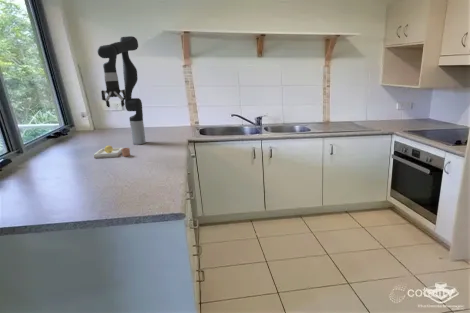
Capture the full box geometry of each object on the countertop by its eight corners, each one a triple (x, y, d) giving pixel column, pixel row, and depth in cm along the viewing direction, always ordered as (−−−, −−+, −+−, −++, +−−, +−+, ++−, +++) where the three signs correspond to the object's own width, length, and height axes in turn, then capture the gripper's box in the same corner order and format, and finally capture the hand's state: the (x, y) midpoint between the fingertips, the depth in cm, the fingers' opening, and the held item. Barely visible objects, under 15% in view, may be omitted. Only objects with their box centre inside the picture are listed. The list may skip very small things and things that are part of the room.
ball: (106, 152, 180) (105, 144, 179) (114, 151, 181) (113, 144, 179) (104, 154, 175) (102, 146, 174) (112, 153, 176) (110, 146, 175)
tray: (101, 152, 184) (101, 148, 184) (123, 151, 186) (123, 147, 185) (94, 158, 171) (93, 154, 170) (117, 156, 173) (117, 152, 172)
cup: (123, 155, 176) (122, 148, 175) (131, 154, 177) (130, 147, 175) (121, 157, 172) (120, 149, 170) (129, 156, 172) (128, 149, 171)
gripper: (125, 79, 175) (128, 105, 180) (101, 80, 174) (106, 106, 178) (122, 80, 168) (125, 106, 173) (97, 80, 167) (102, 108, 171)
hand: (115, 106), depth 176 cm, fingers open, 8 cm apart
